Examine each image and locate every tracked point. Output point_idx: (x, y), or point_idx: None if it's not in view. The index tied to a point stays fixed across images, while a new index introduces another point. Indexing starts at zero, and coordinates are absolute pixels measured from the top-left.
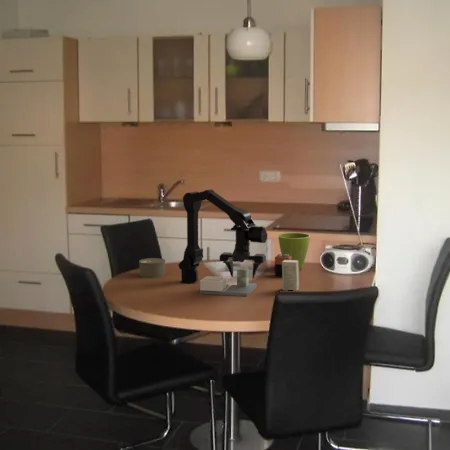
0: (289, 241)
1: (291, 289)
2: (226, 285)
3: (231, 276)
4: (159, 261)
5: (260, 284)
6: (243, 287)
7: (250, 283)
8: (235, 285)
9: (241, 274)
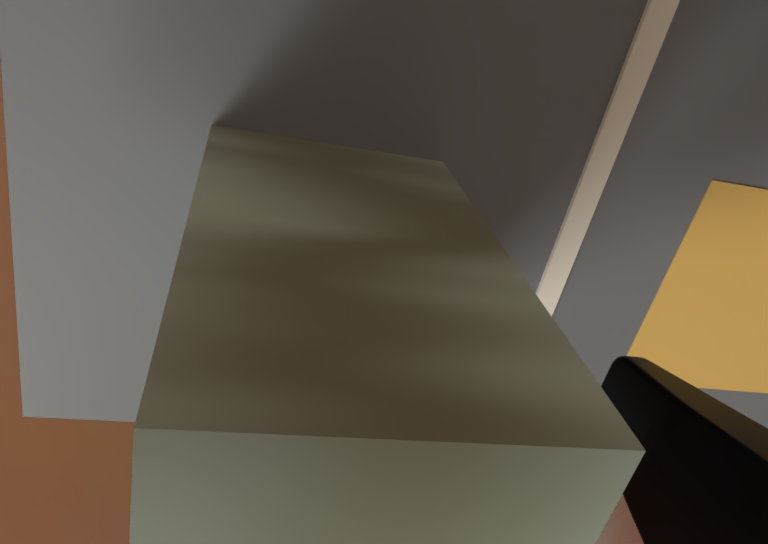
0: None
1: None
2: (662, 203)
3: (652, 362)
4: None
5: (14, 489)
6: (270, 26)
7: None
8: None
9: (377, 307)
